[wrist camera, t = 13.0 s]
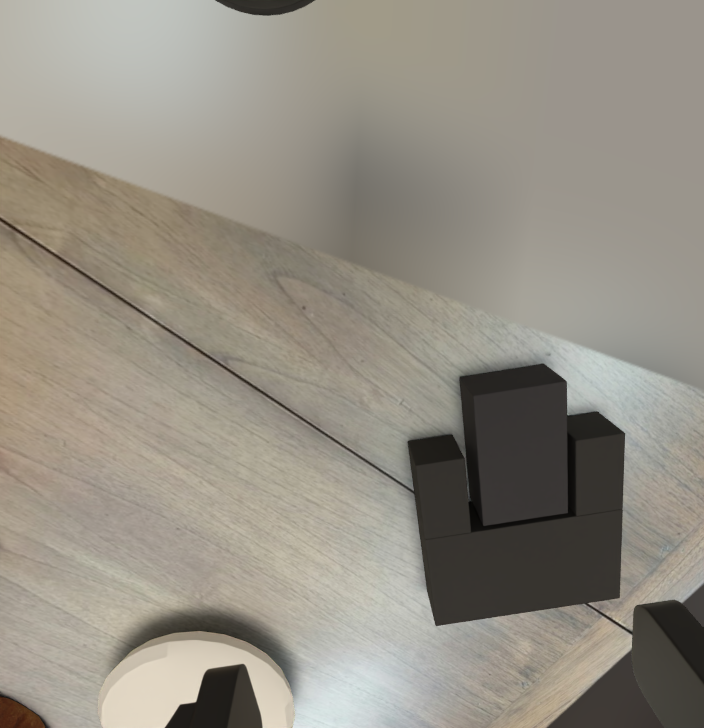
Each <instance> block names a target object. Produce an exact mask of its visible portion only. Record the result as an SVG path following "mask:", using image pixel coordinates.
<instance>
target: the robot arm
mask: <svg viewBox="0 0 704 728" xmlns="http://www.w3.org/2000/svg"><path fill="white" fill-rule="evenodd" d="M632 667H633V671H634V674H635V677H636V680H637V683H638V685H639V687H640V689H641V691H642V693H643V695H644V696H645V698H646V700H647V701H648V703H649V704H650V706H651V707H652V709H653V711H654V712H655V714H656V716H657V717H658V719H659V720H660V722H661V723H662V725H663V727H664V728H704V627H702V626H701V624H700V623H699V622H698V621H697V620H696V619H695V618H694V617H693V615H692V614H691V613H690V612H689V611H688V610H687V609H686V607H685V606H684V605H683V604H681V603H680V602H678V601H676V600H668V601H662V602H655V603H649V604H642V605H637V606H636V607H635V608H634V615H633V636H632ZM165 728H263V727H262V718H261V713H260V710H259V706H258V703H257V700H256V697H255V693H254V690H253V687H252V683H251V680H250V677H249V674H248V670H247V668H246V666H245V664H238V665H231V666H224V667H218V668H211V669H207V670H206V672H205V673H204V676H203V679H202V682H201V686H200V689H199V693H198V697H197V700H196V702H194V703H187V704H180V705H179V707H178V708H177V710H176V711H175V713H174V714H173V716H172V717H171V719H170V721H169V722H168V724H167V725H166V727H165Z"/></svg>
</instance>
